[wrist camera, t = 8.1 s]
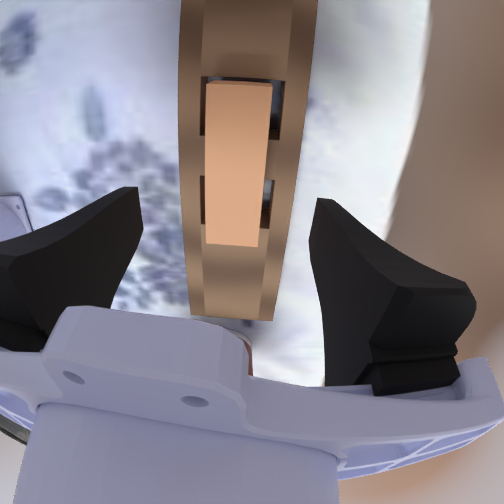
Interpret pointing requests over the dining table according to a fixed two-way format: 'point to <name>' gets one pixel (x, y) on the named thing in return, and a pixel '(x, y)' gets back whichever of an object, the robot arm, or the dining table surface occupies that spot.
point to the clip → (235, 160)
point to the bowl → (14, 430)
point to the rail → (278, 148)
